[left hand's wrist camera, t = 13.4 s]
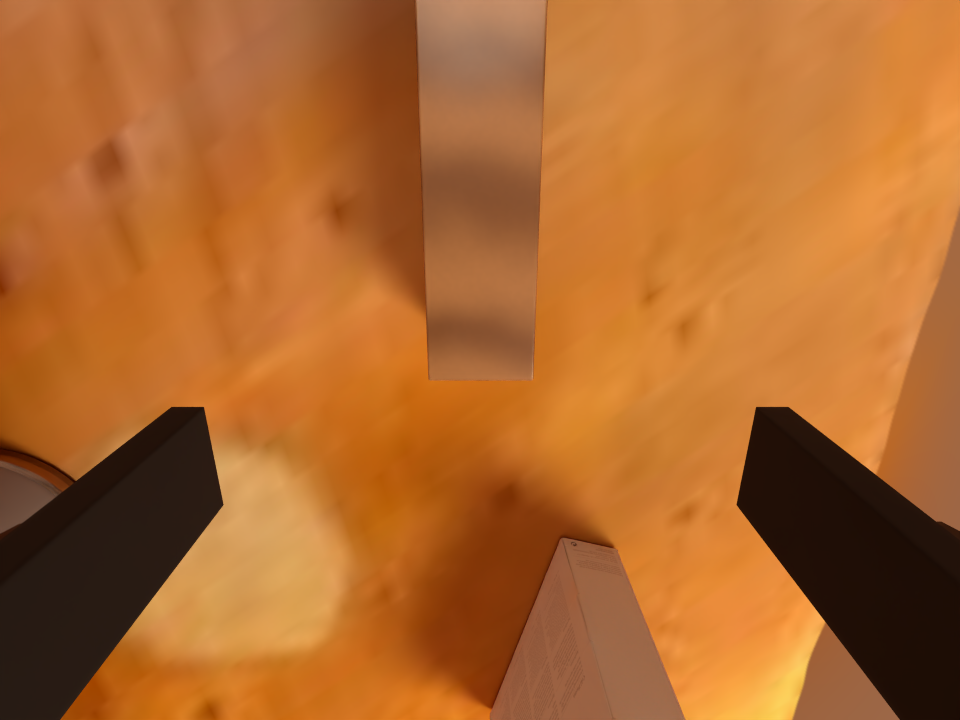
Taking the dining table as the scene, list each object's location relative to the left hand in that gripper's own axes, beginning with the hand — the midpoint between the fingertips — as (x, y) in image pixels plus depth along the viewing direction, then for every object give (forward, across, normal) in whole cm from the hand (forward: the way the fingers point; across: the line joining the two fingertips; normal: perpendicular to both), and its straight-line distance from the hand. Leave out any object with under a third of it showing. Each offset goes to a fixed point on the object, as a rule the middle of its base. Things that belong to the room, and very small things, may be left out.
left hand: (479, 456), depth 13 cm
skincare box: (+24, -6, +32) cm, 40 cm away
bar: (+24, 0, -10) cm, 26 cm away
